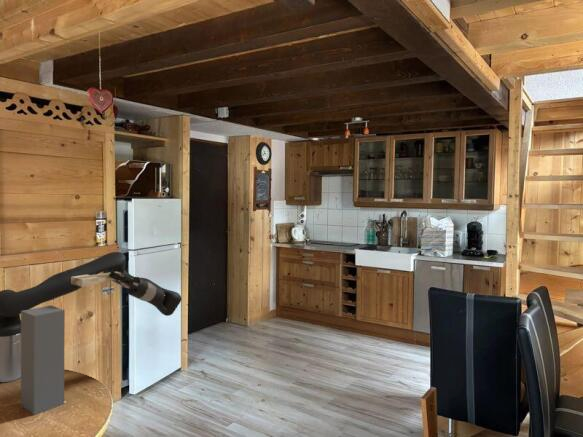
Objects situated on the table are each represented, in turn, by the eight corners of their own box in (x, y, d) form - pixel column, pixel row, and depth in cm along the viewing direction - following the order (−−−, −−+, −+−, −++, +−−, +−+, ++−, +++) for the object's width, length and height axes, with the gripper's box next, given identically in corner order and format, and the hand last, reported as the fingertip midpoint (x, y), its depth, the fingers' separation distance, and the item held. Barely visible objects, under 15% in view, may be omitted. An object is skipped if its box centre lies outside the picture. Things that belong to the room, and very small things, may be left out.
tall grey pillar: (21, 406, 144) (21, 310, 142) (50, 396, 151) (50, 305, 150) (34, 415, 139) (34, 316, 137) (64, 403, 146) (64, 310, 145)
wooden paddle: (71, 283, 154) (71, 276, 154) (113, 277, 168) (113, 270, 168) (81, 286, 150) (81, 279, 150) (124, 279, 164) (124, 273, 164)
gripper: (135, 278, 180) (101, 261, 167) (157, 283, 172) (123, 266, 159) (126, 295, 177) (92, 279, 164) (148, 301, 169) (114, 285, 156)
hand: (108, 273), depth 162 cm, fingers closed on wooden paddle, 3 cm apart
